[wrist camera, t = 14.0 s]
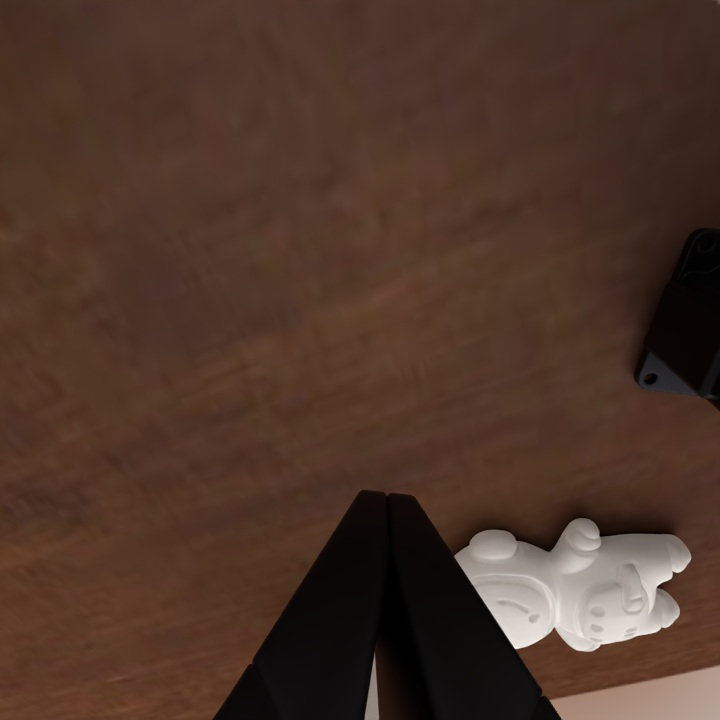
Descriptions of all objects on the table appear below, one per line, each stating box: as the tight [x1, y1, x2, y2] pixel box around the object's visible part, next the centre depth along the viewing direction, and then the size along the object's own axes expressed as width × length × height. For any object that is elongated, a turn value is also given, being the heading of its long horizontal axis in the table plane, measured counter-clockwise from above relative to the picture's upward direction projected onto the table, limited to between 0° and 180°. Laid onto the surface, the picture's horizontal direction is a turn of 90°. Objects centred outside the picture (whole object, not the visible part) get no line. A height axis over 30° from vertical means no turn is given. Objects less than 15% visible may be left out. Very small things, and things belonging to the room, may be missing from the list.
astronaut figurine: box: [454, 518, 691, 651], centre depth 25 cm, size 9×12×3 cm
